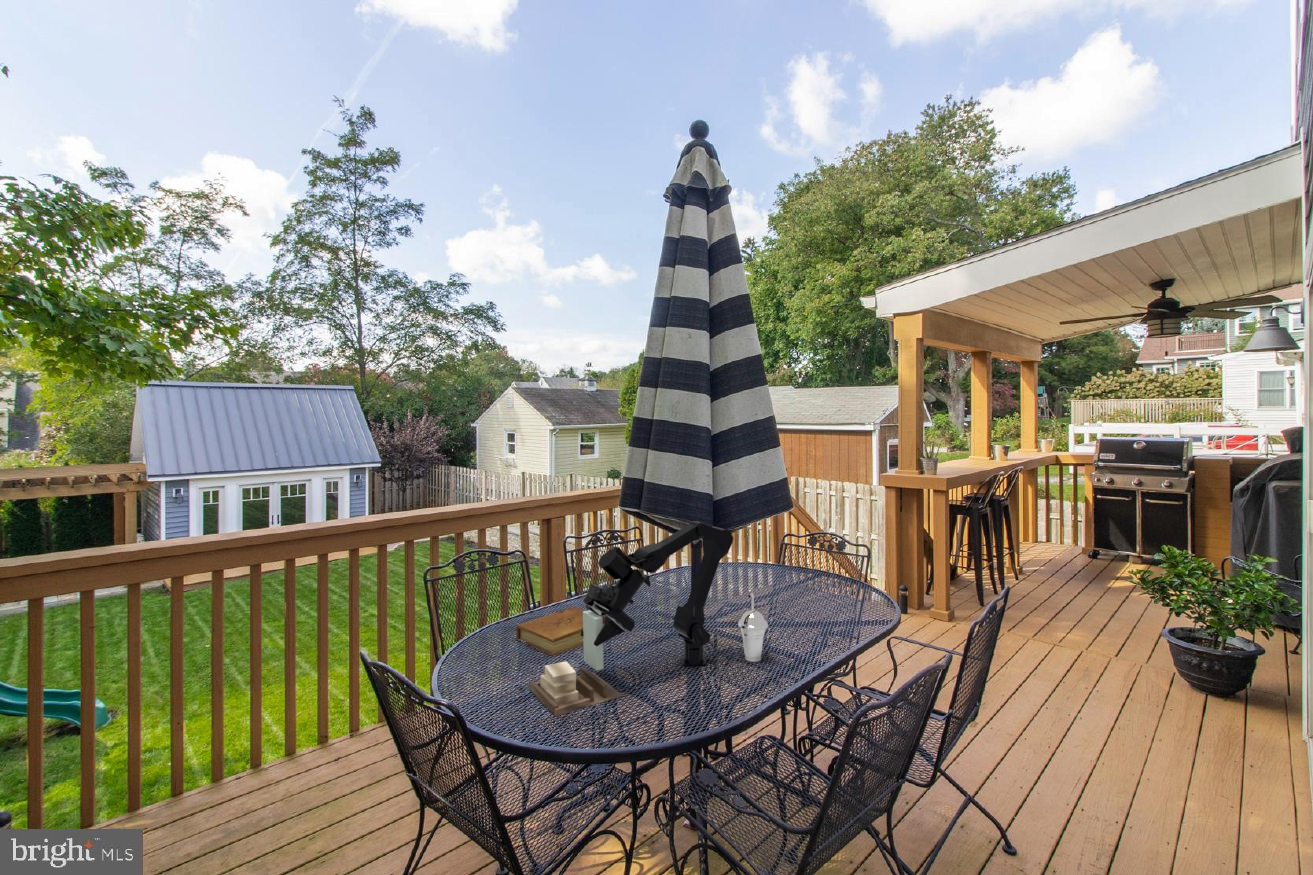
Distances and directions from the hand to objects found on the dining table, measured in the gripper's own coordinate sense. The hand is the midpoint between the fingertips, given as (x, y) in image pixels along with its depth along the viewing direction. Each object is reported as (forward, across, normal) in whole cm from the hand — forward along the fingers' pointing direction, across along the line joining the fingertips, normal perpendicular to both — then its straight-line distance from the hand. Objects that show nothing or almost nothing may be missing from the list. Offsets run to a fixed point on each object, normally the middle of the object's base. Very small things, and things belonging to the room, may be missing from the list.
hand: (588, 640), depth 148 cm
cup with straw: (-24, +8, +44) cm, 51 cm away
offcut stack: (+14, 0, +3) cm, 15 cm away
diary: (+3, -38, +17) cm, 42 cm away
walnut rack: (+12, 0, +7) cm, 14 cm away
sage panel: (+4, 0, +6) cm, 7 cm away
